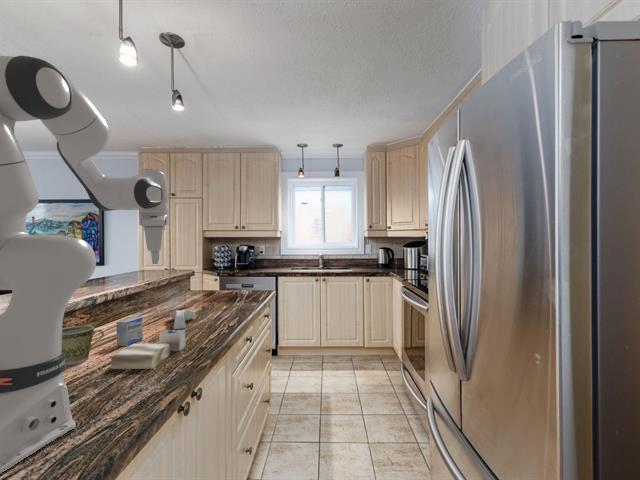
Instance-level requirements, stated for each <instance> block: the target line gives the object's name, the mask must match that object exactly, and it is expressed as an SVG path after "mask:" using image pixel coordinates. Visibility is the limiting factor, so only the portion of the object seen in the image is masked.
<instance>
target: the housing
mask: <svg viewBox="0 0 640 480" xmlns="http://www.w3.org/2000/svg"><path fill="white" fill-rule="evenodd" d="M158 335H159V336H158V337H159V338H158V339H159V340H158V344H169V352H180V351H181V350H183V349H185V347H186V329H165V330H164V331H161V332H160V333H159V334H158Z"/></svg>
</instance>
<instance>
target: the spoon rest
mask: <svg viewBox="0 0 640 480" xmlns="http://www.w3.org/2000/svg"><path fill="white" fill-rule="evenodd" d="M196 313H197V311H196V310H190V309H181V310H178V309H175V310H174V311H172V312H170V313H169V316H170V318H172V320H174V323H173V330H185V329H186V328H187V327H186V322H188V321H190V320H191V319H192V318H194V317H195V315H196ZM187 320H188V321H187Z"/></svg>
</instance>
